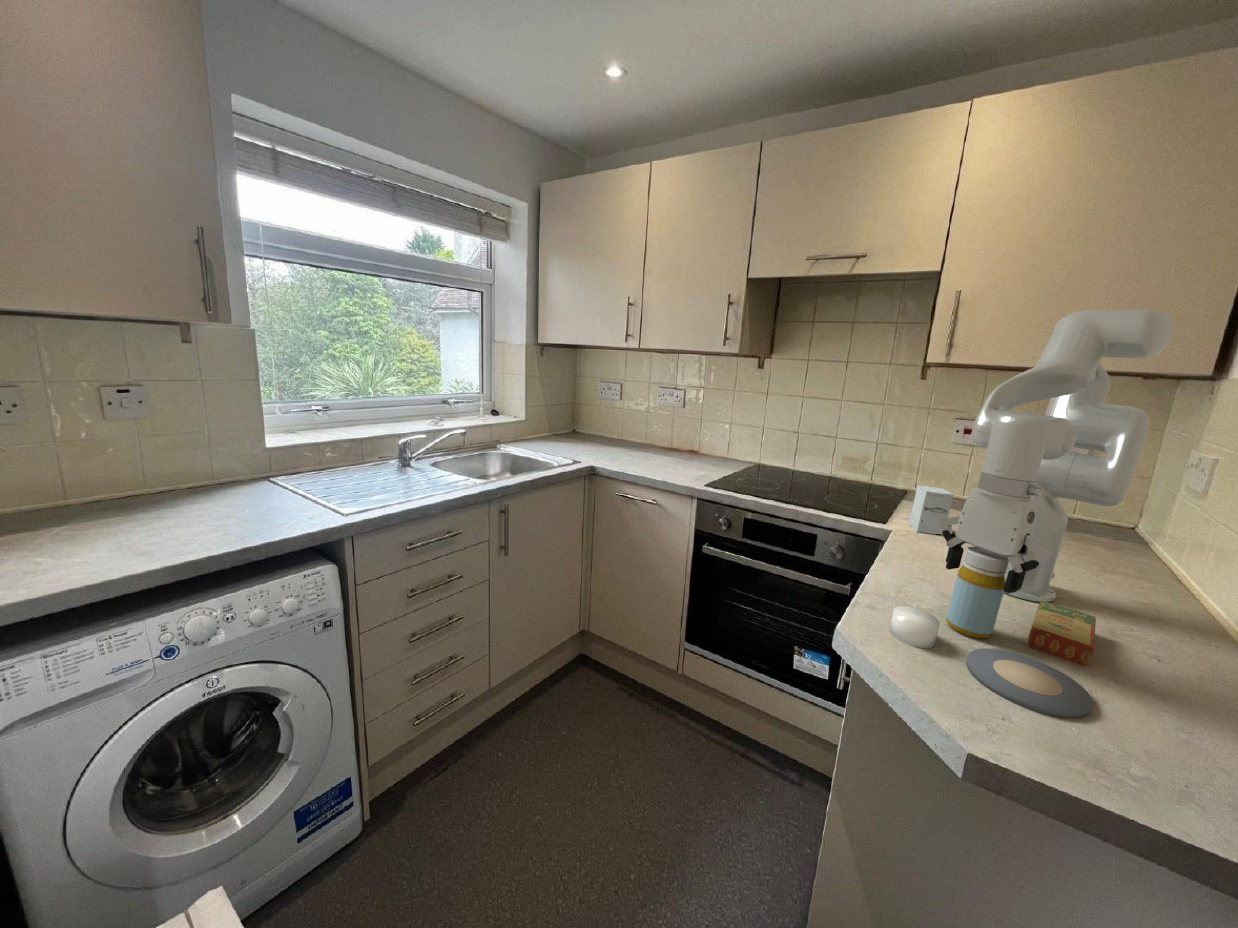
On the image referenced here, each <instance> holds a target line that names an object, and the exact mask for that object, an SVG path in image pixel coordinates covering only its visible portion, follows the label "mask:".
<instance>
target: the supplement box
mask: <svg viewBox="0 0 1238 928" xmlns="http://www.w3.org/2000/svg"><path fill="white" fill-rule="evenodd" d="M953 498H954V494H953V493H952V492H950V491H949V490H947V489H945V488H941V487H932V486H927V485H919V484H918V485H917V487H916V491H915V495H914V500H913V504H912V509H911V511H910V512H911V514H910V517H909V522H908V525H909V526H910V525H911V526H912V527H911V526H910V527H911V528H912V529H913V530H914V531H915V530H916V531H917V532H916V531H915V532H916V533H923V534H925V533H926V534H930V535H936V534H941V535H942V532H943V530H942V528H941V524H940V520H941V519H946V518H949V514H950V509H951V506H952V502H953ZM941 535H940V536H941Z"/></svg>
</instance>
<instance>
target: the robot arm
mask: <svg viewBox="0 0 1238 928" xmlns="http://www.w3.org/2000/svg"><path fill="white" fill-rule="evenodd" d="M1173 321H1174V320H1173V319H1172V317H1171V315H1170V314H1169V313H1167V312H1164V311H1159V310H1153V309H1086V310H1085V309H1084V310H1079V311H1075V312H1071V313H1069V314H1067V315H1066V316H1064V317H1062V318H1060V319H1059V320H1058V321H1056V324H1055V325H1054V328H1053V332H1052V334H1051V336H1050V337H1049V340H1048V341H1047V343H1046V345H1045V347H1044V349H1043V351H1042V353H1041V355H1040V356H1039V358H1038V360H1037V362H1036V364H1035V366H1034V367H1032V368H1029V369H1027V370H1025V371H1023V372H1021V373H1018V374H1017V375H1015V376H1012V377H1011V378H1009V379H1007V380H1005V381H1004V382H1001V384H999V385H998V386H997V387H995V388H994V389H993V390H991V392H990V393H989V395H988V396H987V397H986V399H985V402H984V403H983V405H982V407H981V408H980V410H979V412H978V414H977V416H976V418H975V420H974V423H973V426H972V429H971V437H972V440H973V443H974V444H975V445H976V446H978V447H980V448H982V449H984V450H986V451H985V456H984V459H983V464H982V467H981V471H980V473H979V474H980V475H979V478H978V481H977V487H972V489H971V491H970V492H969V494H968V496H967V498H966V501H965V502H964V505H963V508H962V510H961V512H960V515H959V516H953V517H948V518H946V519H941V520H940V524H941V528H942V530H943V532H942V535H943V538H944V540H945V541H946V546H947V547H948V550H947V554H946V558H945V562H946V564H945V569H946V570H955V569H960V568H961V567H960V566H961V563H962V559H963V555H964V548H963V547H962V546H964V545H965V544H968V545H971V546H972V547H979V548H982V549H984V550H987V551H990V552H993V553H996V554H999V555H1002V556H1005V557H1007V558H1008V560H1009V563H1008V566H1007V570H1006V573H1005V575H1004V577H1005V586H1004V589H1003V591H1004V593H1003V594H1007V595H1009V596H1012V597H1015V598H1019V599H1023V600H1026V601H1031V602H1032V601H1033V602H1037V603H1040V601H1045V602H1048V603H1051V602H1054V601H1055V599H1056V597H1057V593H1056V592H1055V591H1054V590H1053V589H1052V588H1050V587H1049V585H1050V582H1051V579H1054V578H1055V577H1056V574H1055V572H1054V569H1055V565H1056V563H1057V559H1058V556H1059V552H1060V550H1061V546H1062V542H1063V539H1064V535H1065V531H1066V528H1067V527H1068V521H1069V520H1068V514H1067V512H1066V510H1065V508H1064V506H1063V505H1062V503H1061V502H1060V499H1067V500H1073V501H1078V502H1082V503H1085V504H1091V505H1095V506H1102V507H1114V506H1117V505H1119V504H1121V503H1122V502H1123V501H1124V499H1125V498H1126V497H1127V494H1128V492H1129V490H1130V487H1131V484H1132V481H1133V479H1134V475H1135V473H1136V470H1137V467H1138V464H1139V461H1140V458H1141V455H1142V453H1143V450H1144V447H1145V445H1146V441H1147V438H1148V435H1149V429H1150V418H1149V415H1148V413H1147V412H1146V411H1145V410H1143V409H1140V408H1138V407H1134V406H1129V405H1120V404H1113V403H1112V404H1111V403H1110V404H1109V403H1106V400H1107V397H1108V394H1109V391H1110V389H1111V387H1112V380H1111V378H1110V376H1109V374H1108V373H1107V371H1106V370H1105V368H1104V367H1103V366H1102V365H1101V361H1102V359H1103V358H1122V359H1123V358H1124V359H1140V360H1141V359H1145V360H1146V359H1153V358H1155V357H1157V356H1159V355H1160V354H1161V353H1162V352H1163V351H1164V350H1166V348H1167V346H1168V345H1169V343H1170V341H1171V339H1172V336H1173V333H1174V322H1173ZM1049 399H1050V400H1049ZM1044 400H1049V401H1048V402H1049V403H1048V404H1047V407H1046V411H1045V413H1044V414H1039V413H1038V414H1037V413H1032V412H1026V411H1025V412H1023V411H1017V410H1016V411H1015V410H1012V409H1013V408H1016V407H1018V406H1021V405H1024V404H1027V403H1032V402H1033V403H1034V402H1038V401H1044ZM1073 448H1077V449H1083V450H1089V451H1095V452H1102V453H1104V454H1105V455H1106V457H1105V456H1099V455H1091V454H1086V453H1080V452H1075V451H1071V450H1072V449H1073ZM1059 498H1060V499H1059ZM953 525H956V530H955V532H954V530H953Z"/></svg>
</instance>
